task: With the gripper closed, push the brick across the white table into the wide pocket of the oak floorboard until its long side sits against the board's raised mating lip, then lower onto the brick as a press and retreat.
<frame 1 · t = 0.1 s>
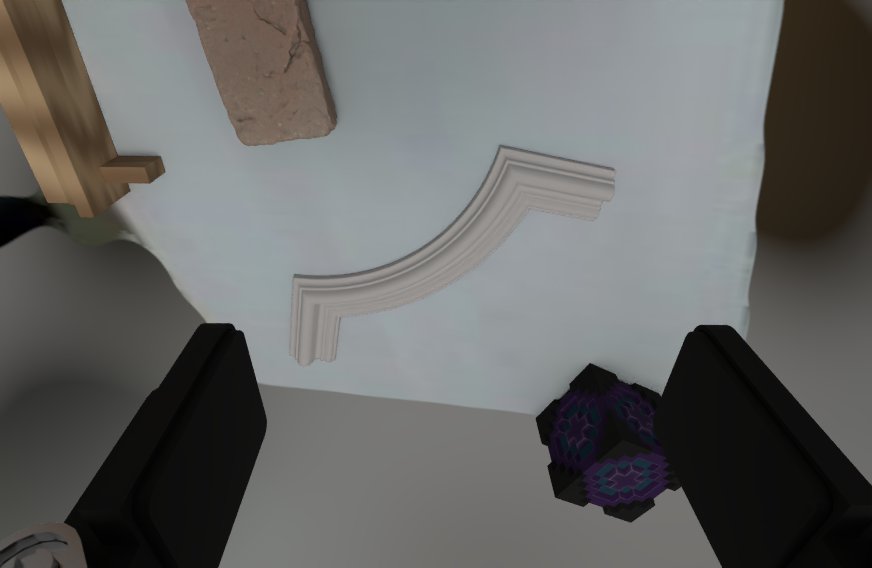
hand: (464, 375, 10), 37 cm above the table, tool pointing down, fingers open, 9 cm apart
molding: (432, 267, 52), on the table
brick: (269, 33, 39), on the table
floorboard: (34, 29, 38), on the table
energy cube: (595, 404, 65), on the table
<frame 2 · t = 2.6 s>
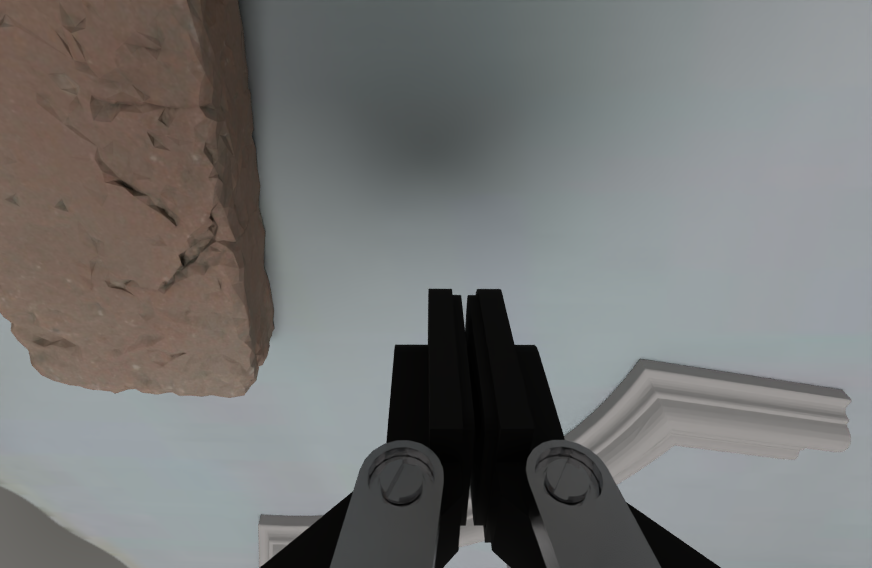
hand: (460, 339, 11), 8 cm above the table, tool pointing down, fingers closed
molding: (490, 499, 32), on the table
brick: (159, 162, 17), on the table
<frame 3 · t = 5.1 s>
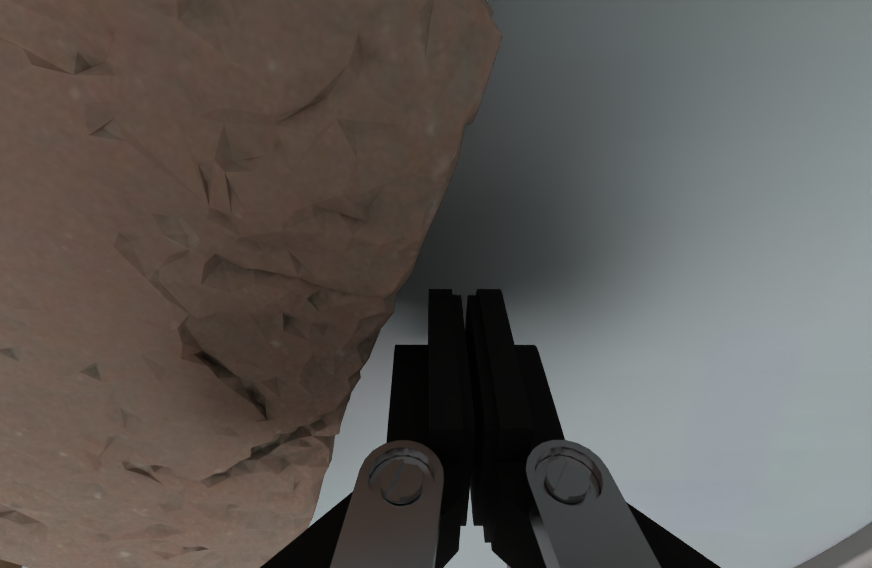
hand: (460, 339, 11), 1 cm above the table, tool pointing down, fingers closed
brick: (221, 268, 12), on the table, touching gripper
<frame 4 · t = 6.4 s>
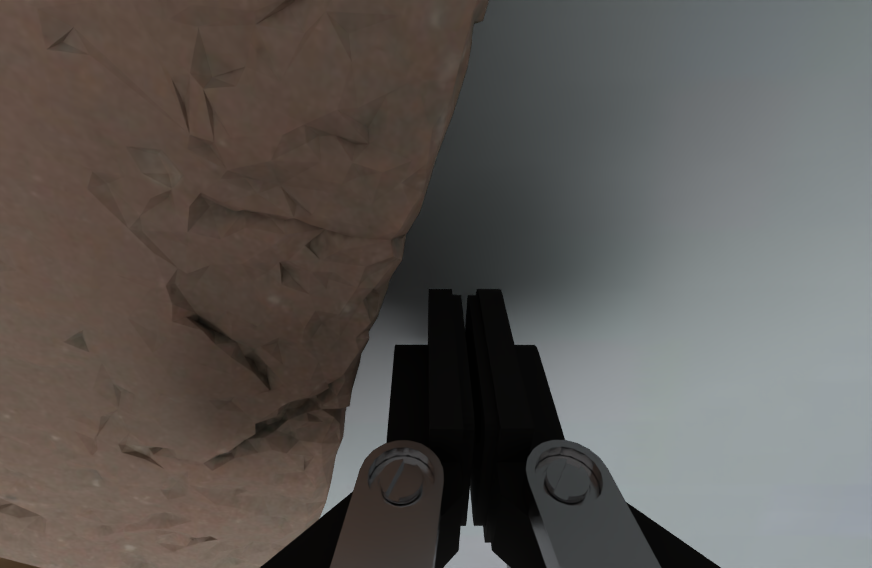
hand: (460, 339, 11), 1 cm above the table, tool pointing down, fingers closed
brick: (218, 241, 12), on the table
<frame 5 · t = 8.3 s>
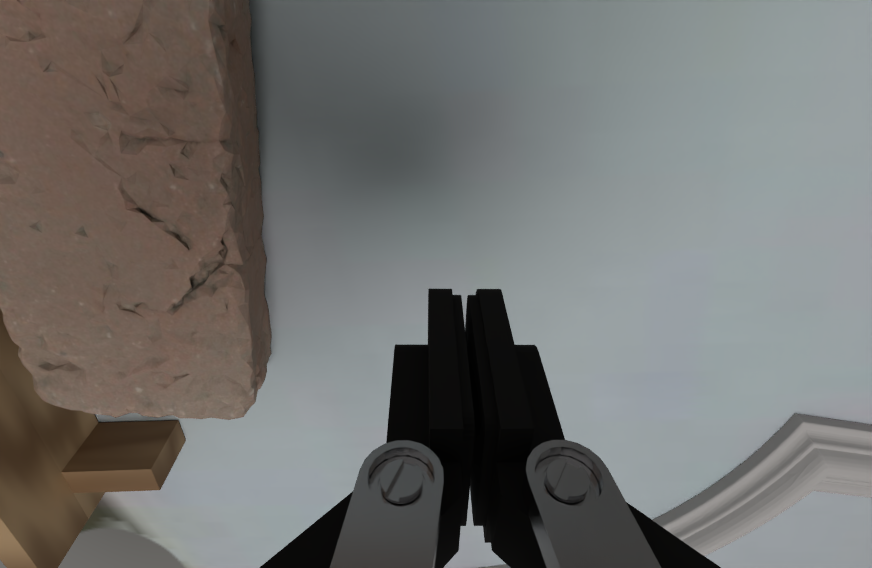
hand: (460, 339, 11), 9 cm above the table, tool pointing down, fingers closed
molding: (624, 547, 34), on the table
brick: (168, 195, 19), on the table
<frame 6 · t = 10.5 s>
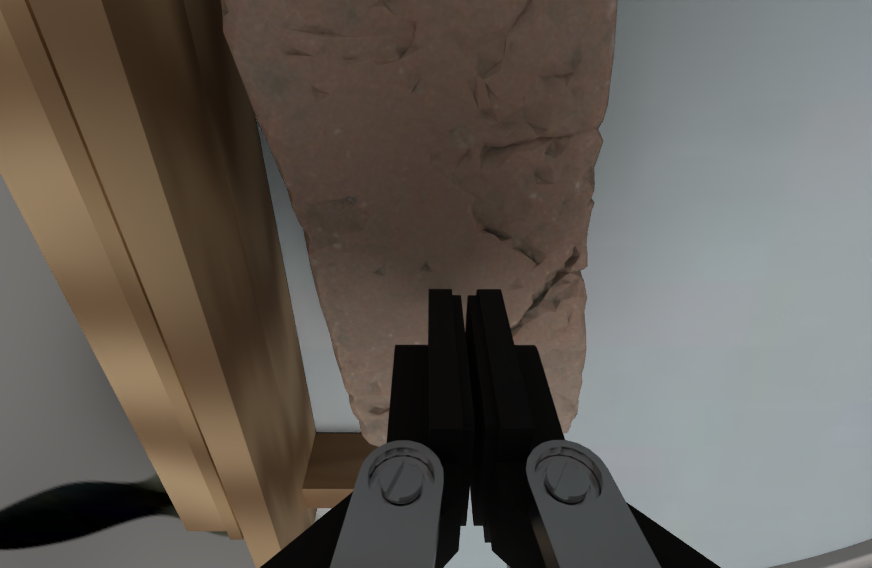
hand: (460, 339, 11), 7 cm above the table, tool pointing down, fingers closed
brick: (448, 207, 17), on the table
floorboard: (198, 247, 17), on the table
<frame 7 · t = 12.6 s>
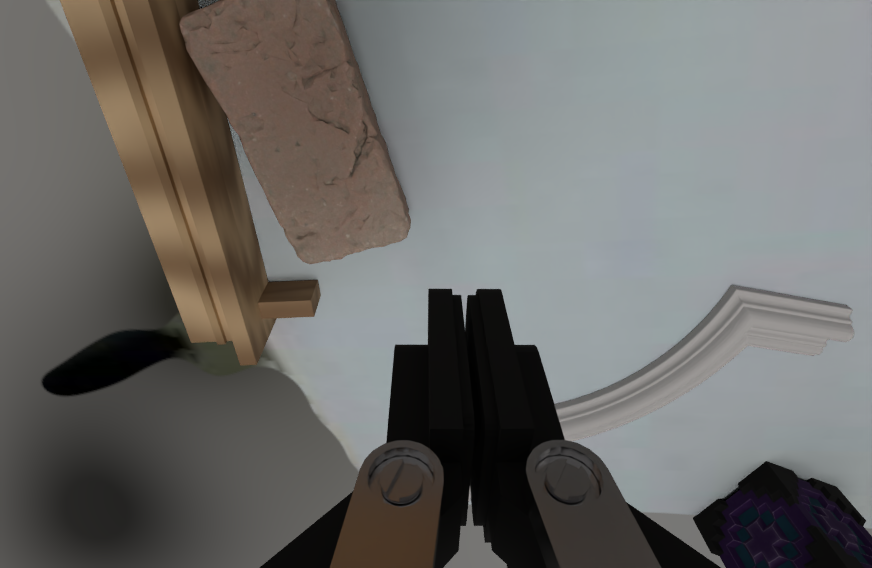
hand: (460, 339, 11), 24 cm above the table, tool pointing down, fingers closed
molding: (620, 399, 47), on the table
brick: (322, 127, 32), on the table
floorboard: (191, 154, 32), on the table
energy cube: (761, 501, 57), on the table
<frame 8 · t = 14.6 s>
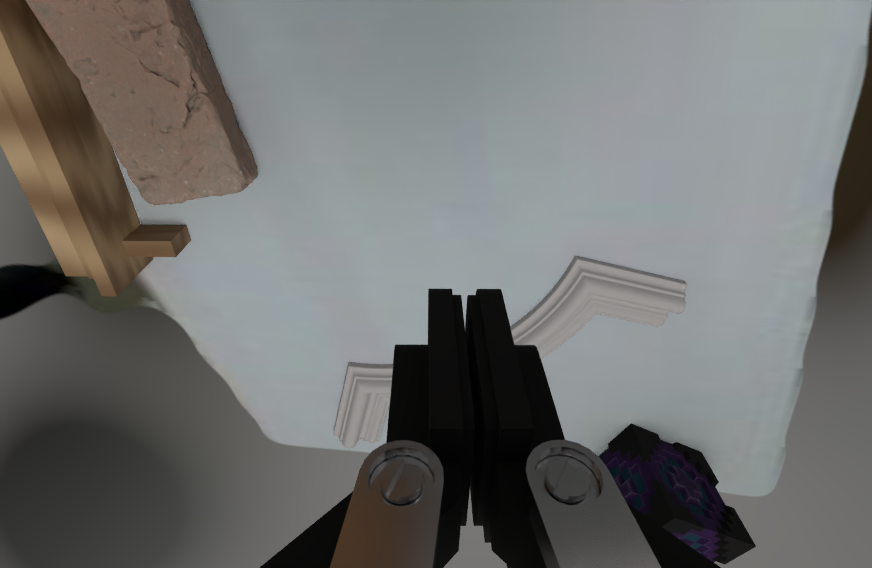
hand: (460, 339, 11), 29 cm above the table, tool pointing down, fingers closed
molding: (489, 359, 52), on the table
brick: (173, 81, 35), on the table
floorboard: (54, 99, 35), on the table
energy cube: (634, 462, 62), on the table
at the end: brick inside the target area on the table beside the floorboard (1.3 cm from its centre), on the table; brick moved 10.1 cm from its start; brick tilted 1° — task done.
